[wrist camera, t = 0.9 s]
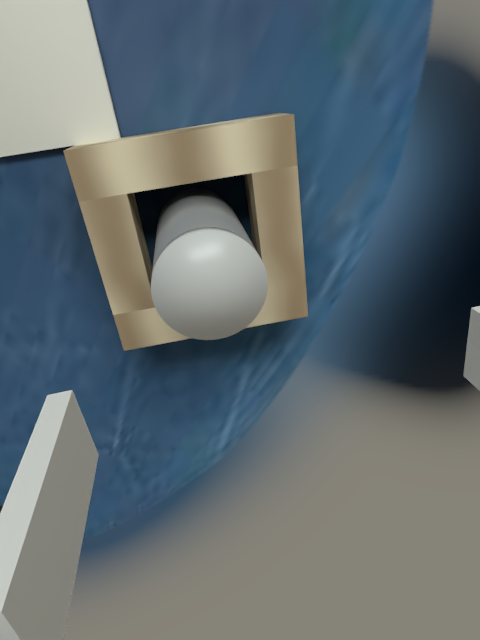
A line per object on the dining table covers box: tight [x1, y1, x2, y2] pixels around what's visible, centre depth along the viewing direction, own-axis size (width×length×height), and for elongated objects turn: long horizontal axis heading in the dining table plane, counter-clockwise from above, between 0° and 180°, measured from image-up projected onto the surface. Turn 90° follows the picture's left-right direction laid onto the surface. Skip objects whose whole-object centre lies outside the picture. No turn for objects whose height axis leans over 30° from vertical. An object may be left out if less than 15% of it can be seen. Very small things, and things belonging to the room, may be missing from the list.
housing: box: [63, 113, 308, 351], centre depth 31 cm, size 14×14×4 cm
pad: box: [0, 0, 121, 157], centre depth 27 cm, size 10×10×1 cm
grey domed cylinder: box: [151, 188, 268, 340], centre depth 28 cm, size 6×6×12 cm
